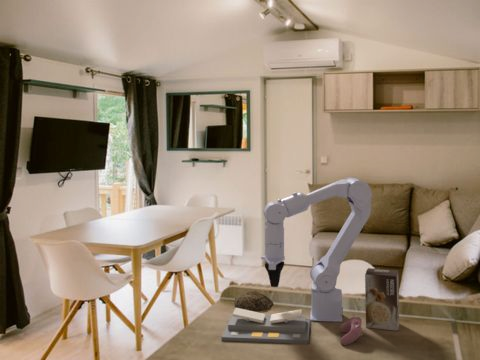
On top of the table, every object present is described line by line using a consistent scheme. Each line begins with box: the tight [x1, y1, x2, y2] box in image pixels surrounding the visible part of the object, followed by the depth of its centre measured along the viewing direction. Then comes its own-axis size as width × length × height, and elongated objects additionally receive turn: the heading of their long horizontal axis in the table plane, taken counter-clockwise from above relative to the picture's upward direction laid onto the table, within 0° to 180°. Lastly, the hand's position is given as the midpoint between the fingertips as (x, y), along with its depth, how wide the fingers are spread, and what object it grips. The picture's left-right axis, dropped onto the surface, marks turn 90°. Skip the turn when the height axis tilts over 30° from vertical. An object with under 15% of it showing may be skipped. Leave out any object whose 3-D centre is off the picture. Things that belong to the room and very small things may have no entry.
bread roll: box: [233, 290, 274, 312], centre depth 172 cm, size 13×12×5 cm
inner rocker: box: [270, 308, 303, 324], centre depth 151 cm, size 9×5×1 cm, turn 80°
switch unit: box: [220, 314, 311, 345], centre depth 150 cm, size 24×15×2 cm, turn 81°
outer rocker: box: [232, 307, 266, 323], centre depth 152 cm, size 9×5×1 cm, turn 81°
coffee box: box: [364, 267, 400, 331], centre depth 151 cm, size 9×6×16 cm
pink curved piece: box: [340, 315, 363, 346], centre depth 143 cm, size 10×5×7 cm, turn 169°
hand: (274, 286), depth 158 cm, fingers closed
